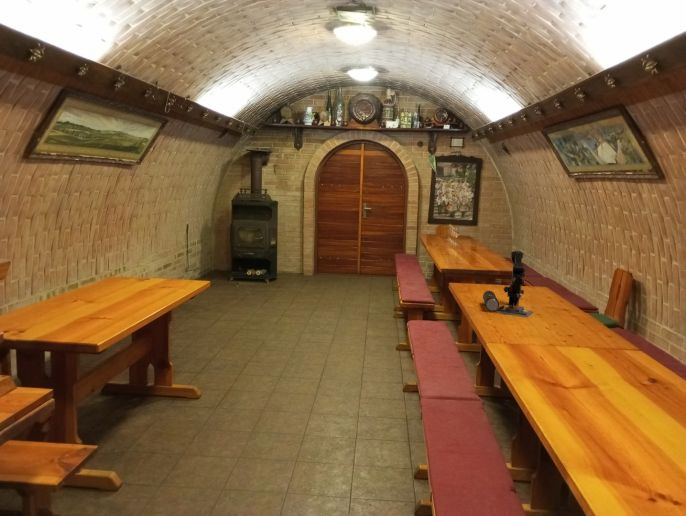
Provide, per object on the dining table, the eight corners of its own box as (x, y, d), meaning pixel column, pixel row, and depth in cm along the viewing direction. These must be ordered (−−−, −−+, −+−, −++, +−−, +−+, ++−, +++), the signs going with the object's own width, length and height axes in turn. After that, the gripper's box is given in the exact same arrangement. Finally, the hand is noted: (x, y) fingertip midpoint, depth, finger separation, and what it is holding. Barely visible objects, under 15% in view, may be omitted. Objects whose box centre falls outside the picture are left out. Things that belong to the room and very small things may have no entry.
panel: (502, 307, 402) (502, 306, 401) (533, 313, 390) (533, 311, 390) (495, 312, 388) (495, 310, 388) (527, 317, 377) (527, 315, 377)
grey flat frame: (502, 306, 400) (502, 305, 400) (531, 311, 390) (531, 309, 389) (496, 310, 388) (496, 308, 388) (526, 315, 377) (526, 313, 377)
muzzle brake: (495, 304, 413) (495, 290, 411) (499, 313, 386) (499, 298, 384) (482, 303, 415) (482, 290, 413) (484, 312, 387) (485, 297, 386)
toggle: (514, 308, 394) (514, 299, 393) (518, 309, 392) (519, 299, 391) (512, 309, 392) (513, 299, 391) (517, 310, 390) (518, 300, 389)
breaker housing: (510, 308, 397) (510, 304, 397) (527, 310, 391) (527, 307, 390) (505, 311, 386) (505, 308, 386) (522, 314, 380) (523, 310, 379)
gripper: (509, 280, 399) (507, 301, 401) (501, 283, 383) (499, 305, 385) (525, 282, 393) (523, 303, 395) (517, 285, 377) (515, 308, 380)
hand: (515, 305), depth 389 cm, fingers closed
